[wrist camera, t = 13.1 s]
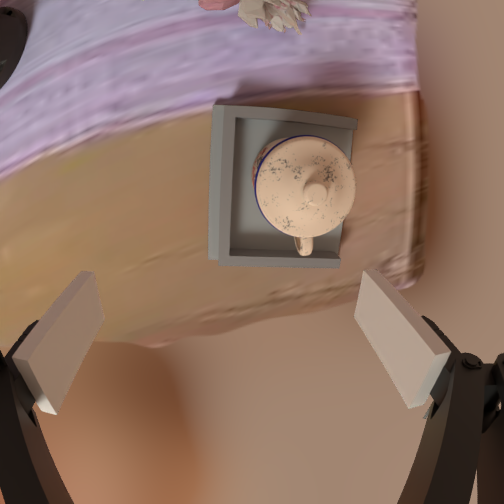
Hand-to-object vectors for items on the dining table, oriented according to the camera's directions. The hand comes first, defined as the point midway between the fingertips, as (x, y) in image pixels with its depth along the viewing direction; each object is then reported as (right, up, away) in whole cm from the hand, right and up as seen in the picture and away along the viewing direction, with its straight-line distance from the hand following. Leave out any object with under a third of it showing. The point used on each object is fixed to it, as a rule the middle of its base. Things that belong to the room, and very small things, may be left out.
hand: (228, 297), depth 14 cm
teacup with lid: (+5, +9, +20) cm, 23 cm away
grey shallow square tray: (+4, +10, +20) cm, 23 cm away
